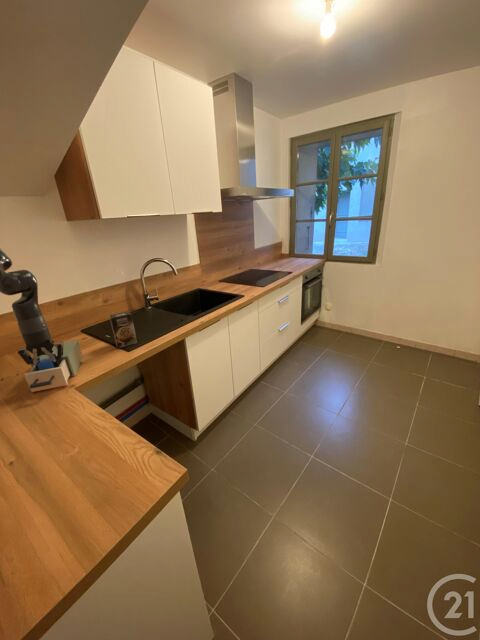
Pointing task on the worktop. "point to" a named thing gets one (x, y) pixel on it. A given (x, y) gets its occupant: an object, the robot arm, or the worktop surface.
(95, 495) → the worktop surface
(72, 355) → the grey-green drawer cabinet
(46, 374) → the dispenser drawer
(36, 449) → the worktop surface
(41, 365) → the blue cube
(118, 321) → the coffee box
